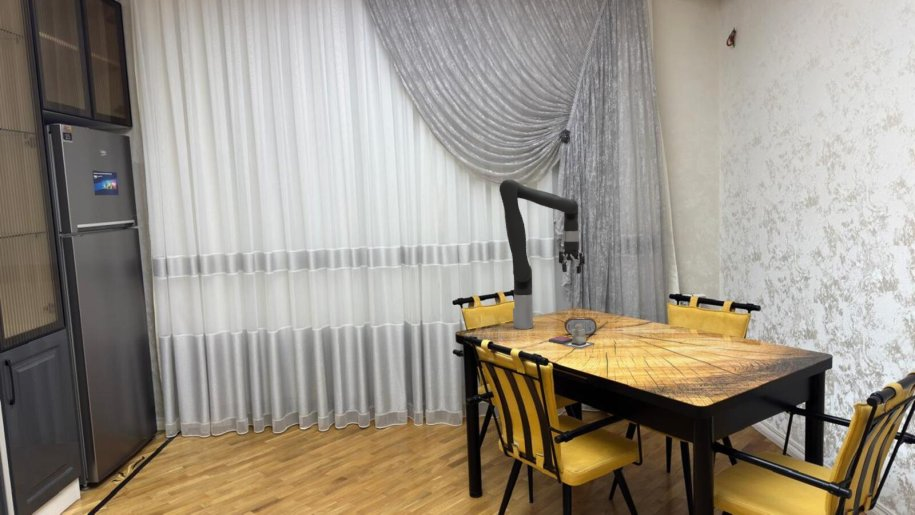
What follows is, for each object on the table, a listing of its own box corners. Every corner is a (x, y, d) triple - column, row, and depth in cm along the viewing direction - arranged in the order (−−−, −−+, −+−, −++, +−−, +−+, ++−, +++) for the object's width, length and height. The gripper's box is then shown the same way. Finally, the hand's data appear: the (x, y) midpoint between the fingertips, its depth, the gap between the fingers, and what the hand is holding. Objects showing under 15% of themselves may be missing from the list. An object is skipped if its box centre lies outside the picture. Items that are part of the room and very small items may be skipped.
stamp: (571, 344, 271) (571, 324, 270) (577, 342, 274) (577, 322, 273) (579, 346, 267) (579, 325, 266) (586, 344, 270) (585, 323, 269)
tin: (596, 333, 290) (596, 316, 289) (597, 335, 287) (596, 317, 286) (564, 334, 292) (564, 316, 291) (565, 335, 288) (564, 318, 287)
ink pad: (548, 341, 278) (548, 338, 278) (559, 338, 284) (559, 335, 283) (562, 344, 272) (562, 341, 272) (573, 341, 278) (573, 338, 277)
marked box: (562, 345, 271) (562, 344, 271) (576, 340, 278) (576, 339, 277) (581, 349, 263) (581, 348, 263) (594, 344, 270) (594, 343, 270)
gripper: (555, 240, 300) (555, 272, 302) (578, 241, 290) (578, 274, 291) (564, 238, 305) (565, 270, 307) (587, 240, 294) (588, 273, 296)
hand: (571, 272), depth 299 cm, fingers open, 8 cm apart
